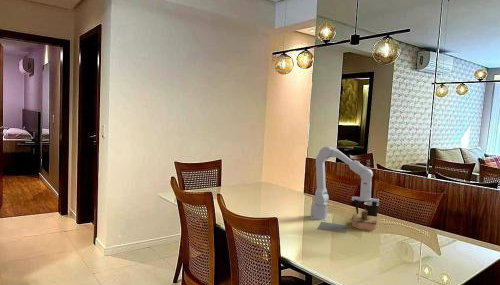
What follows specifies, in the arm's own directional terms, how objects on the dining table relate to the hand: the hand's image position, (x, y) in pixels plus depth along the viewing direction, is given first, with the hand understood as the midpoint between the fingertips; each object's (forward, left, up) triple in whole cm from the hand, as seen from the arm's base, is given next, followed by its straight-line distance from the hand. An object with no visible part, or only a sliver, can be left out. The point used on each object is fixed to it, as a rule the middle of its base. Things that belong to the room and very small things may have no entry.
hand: (364, 214), depth 200 cm
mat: (-16, -10, -7) cm, 20 cm away
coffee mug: (+3, +17, -7) cm, 19 cm away
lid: (0, 0, -3) cm, 3 cm away
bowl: (0, 0, -7) cm, 7 cm away
